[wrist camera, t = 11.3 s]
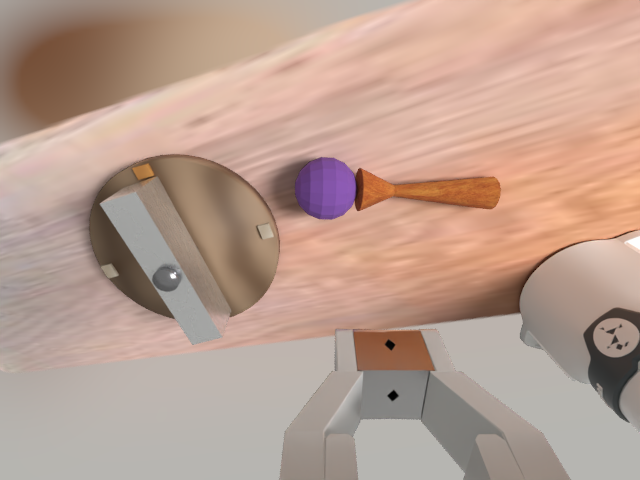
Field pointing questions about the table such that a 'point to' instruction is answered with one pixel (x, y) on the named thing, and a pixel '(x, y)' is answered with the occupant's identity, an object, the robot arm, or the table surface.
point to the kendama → (380, 190)
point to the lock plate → (196, 230)
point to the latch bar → (169, 258)
